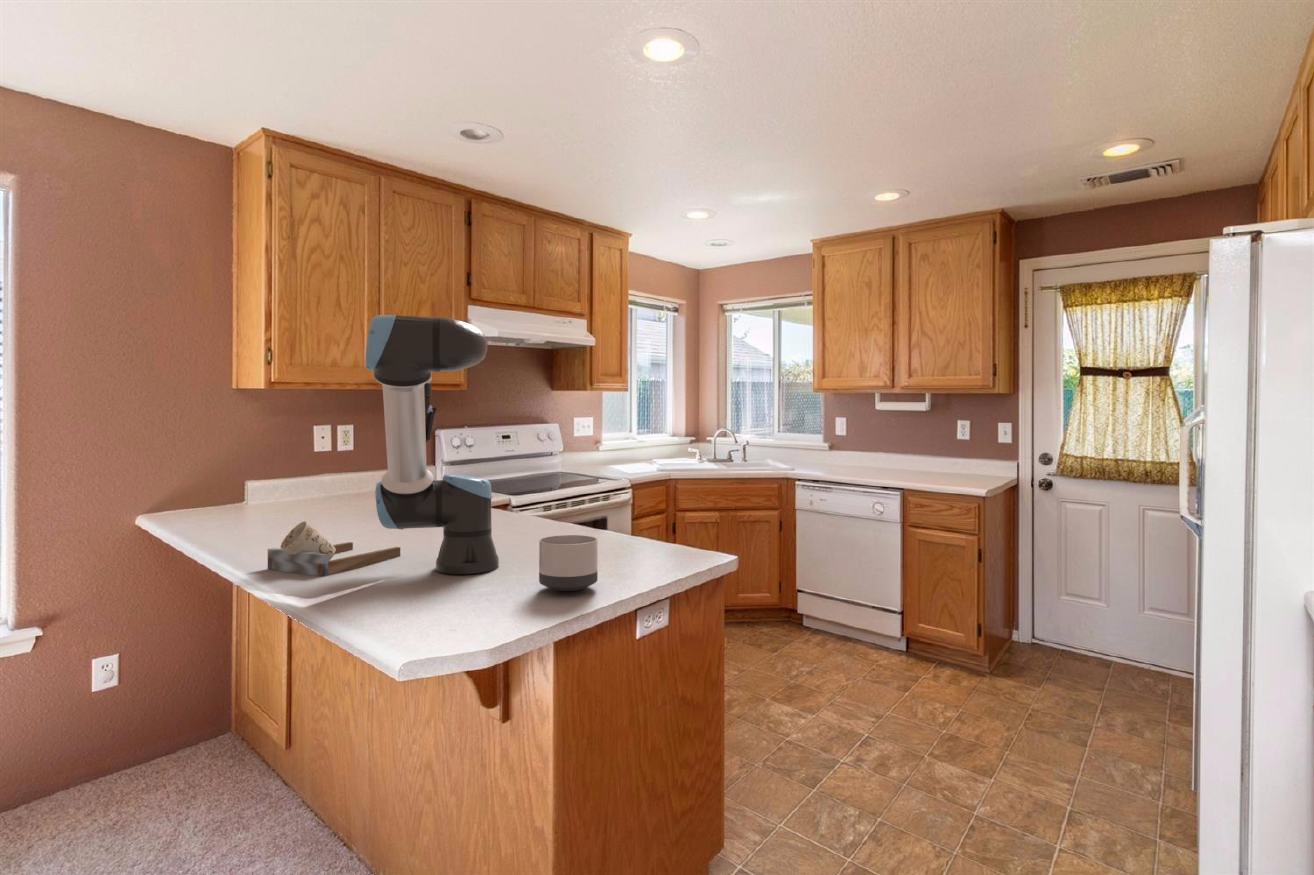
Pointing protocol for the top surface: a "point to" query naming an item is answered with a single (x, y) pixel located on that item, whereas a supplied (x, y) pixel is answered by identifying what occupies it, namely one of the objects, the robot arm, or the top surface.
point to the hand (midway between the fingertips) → (417, 465)
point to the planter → (568, 562)
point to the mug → (306, 541)
